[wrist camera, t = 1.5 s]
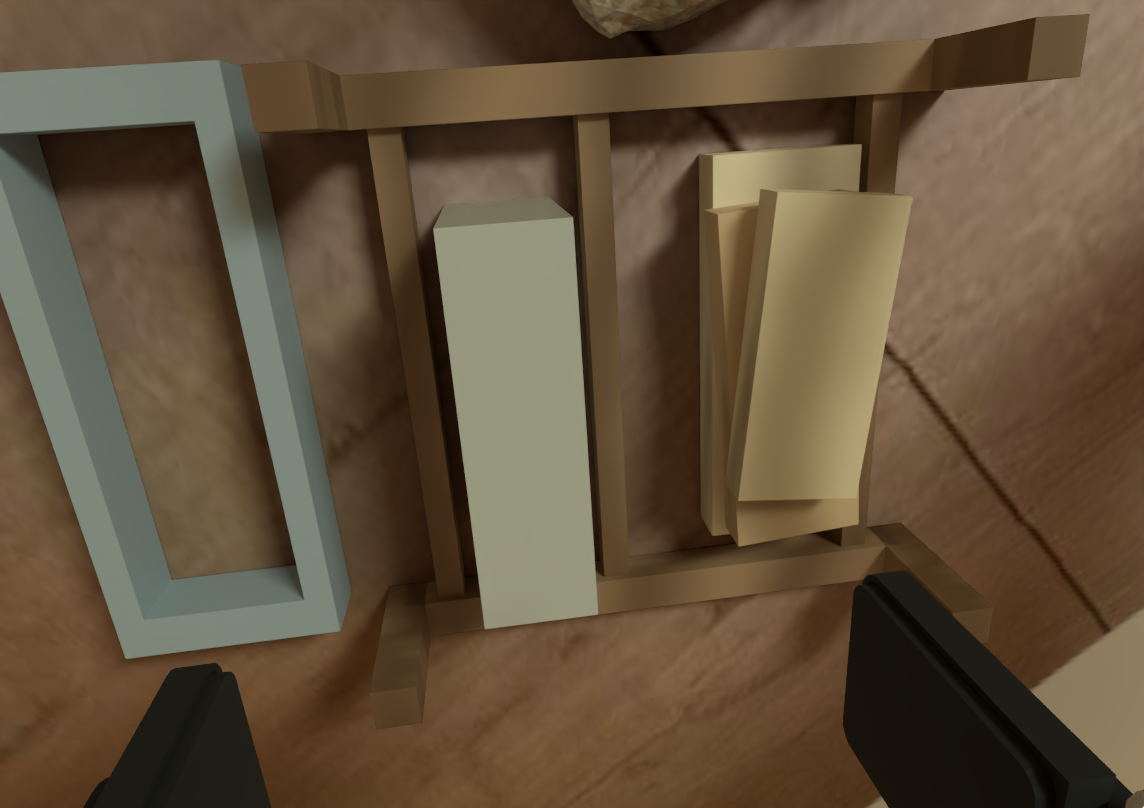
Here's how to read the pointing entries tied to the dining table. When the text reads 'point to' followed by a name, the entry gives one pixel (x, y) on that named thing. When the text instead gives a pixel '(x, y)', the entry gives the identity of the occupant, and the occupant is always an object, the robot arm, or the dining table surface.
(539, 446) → the pale sage tall block
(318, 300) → the dining table surface
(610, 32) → the rock
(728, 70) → the rack
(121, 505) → the cradle
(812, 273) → the offcuts
